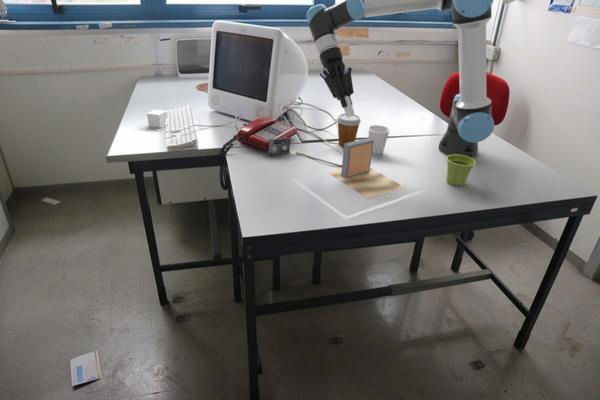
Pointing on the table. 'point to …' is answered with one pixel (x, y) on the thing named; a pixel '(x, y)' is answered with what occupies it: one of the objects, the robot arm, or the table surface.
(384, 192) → the board
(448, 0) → the robot arm
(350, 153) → the tile
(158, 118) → the adhesive note
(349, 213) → the table surface
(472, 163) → the plant pot
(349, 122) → the disposable coffee cup
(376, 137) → the dixie cup
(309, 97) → the table surface
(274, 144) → the mini dv tape
